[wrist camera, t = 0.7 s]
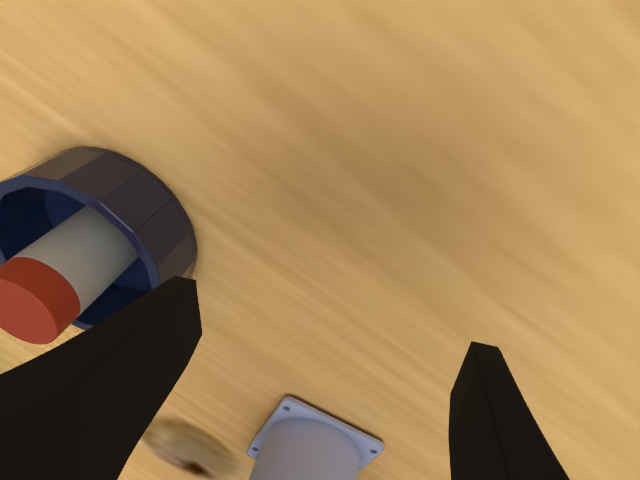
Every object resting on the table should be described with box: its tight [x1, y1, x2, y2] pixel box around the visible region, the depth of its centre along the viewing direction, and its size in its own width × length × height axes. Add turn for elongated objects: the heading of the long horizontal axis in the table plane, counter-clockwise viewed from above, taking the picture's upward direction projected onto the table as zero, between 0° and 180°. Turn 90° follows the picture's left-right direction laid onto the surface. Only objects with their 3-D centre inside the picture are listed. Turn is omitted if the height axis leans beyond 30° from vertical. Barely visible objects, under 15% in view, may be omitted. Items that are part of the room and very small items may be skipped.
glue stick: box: [0, 205, 139, 344], centre depth 22 cm, size 4×4×7 cm
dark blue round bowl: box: [0, 147, 197, 330], centre depth 23 cm, size 10×10×4 cm
